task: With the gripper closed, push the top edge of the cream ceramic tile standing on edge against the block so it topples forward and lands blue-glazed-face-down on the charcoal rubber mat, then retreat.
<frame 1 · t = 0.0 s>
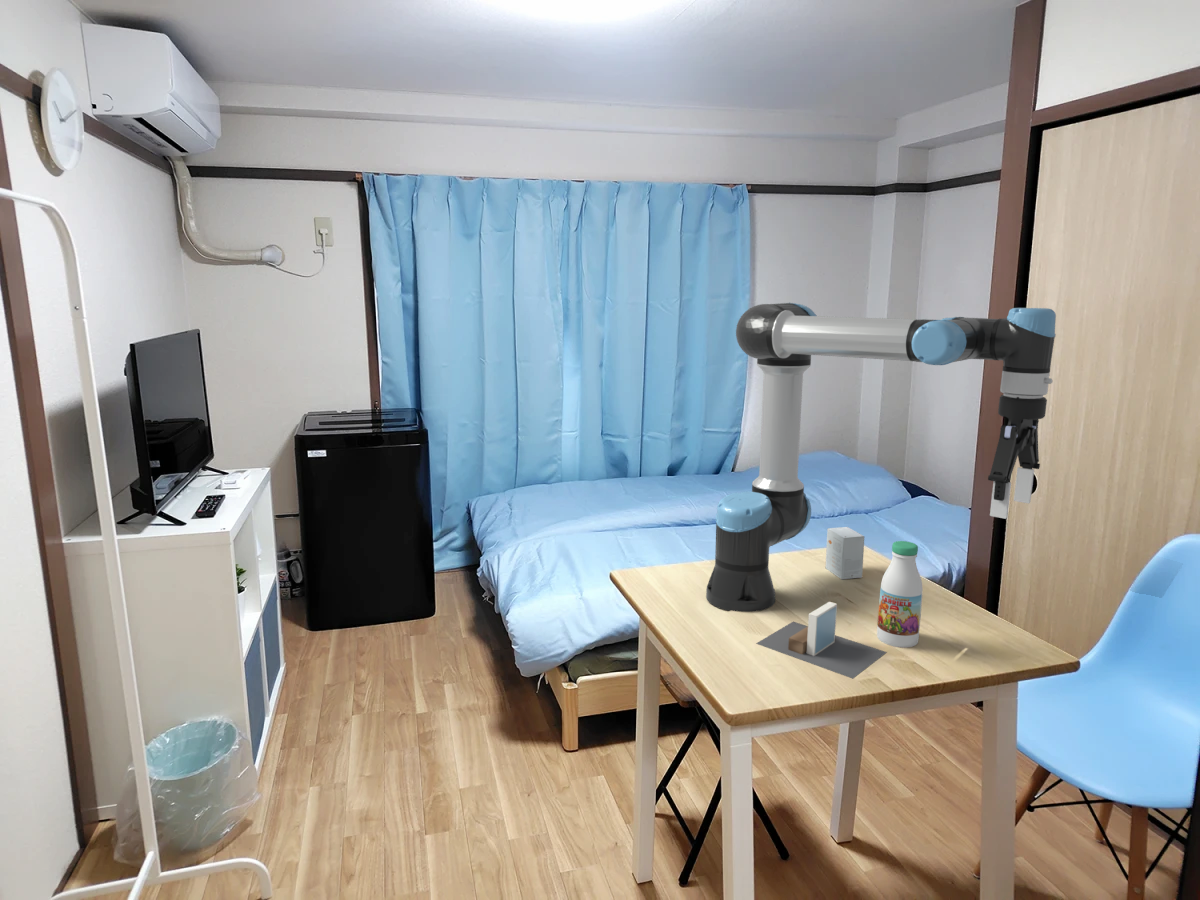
hand: (1010, 509, 144), 28 cm above the table, tool pointing down, fingers open, 13 cm apart
block: (808, 643, 151), resting on mat
milk bottle: (897, 641, 154), on the table
tile: (820, 647, 150), resting on mat
mat: (820, 649, 150), on the table
small box: (843, 574, 190), on the table
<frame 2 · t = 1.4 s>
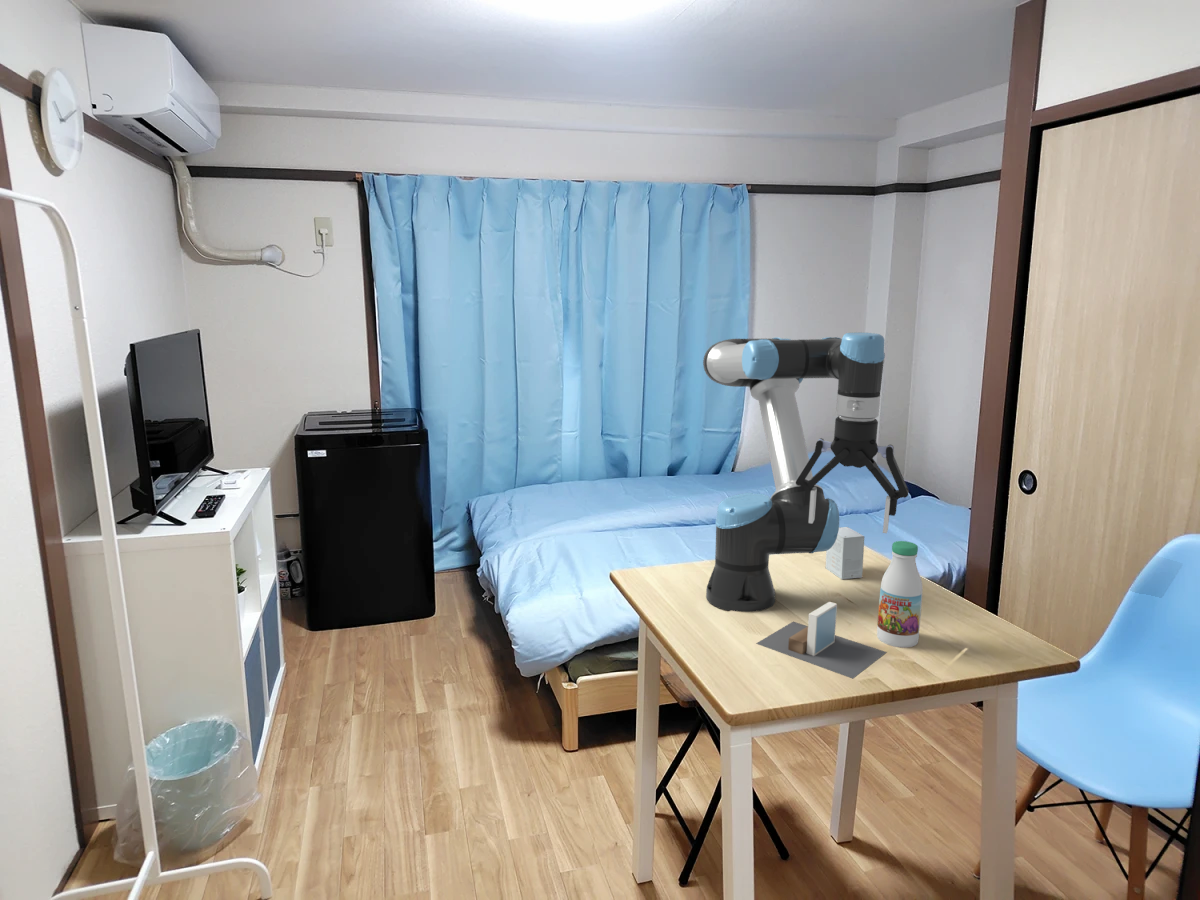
hand: (847, 526, 149), 23 cm above the table, tool pointing down, fingers open, 13 cm apart
nothing on the table moved.
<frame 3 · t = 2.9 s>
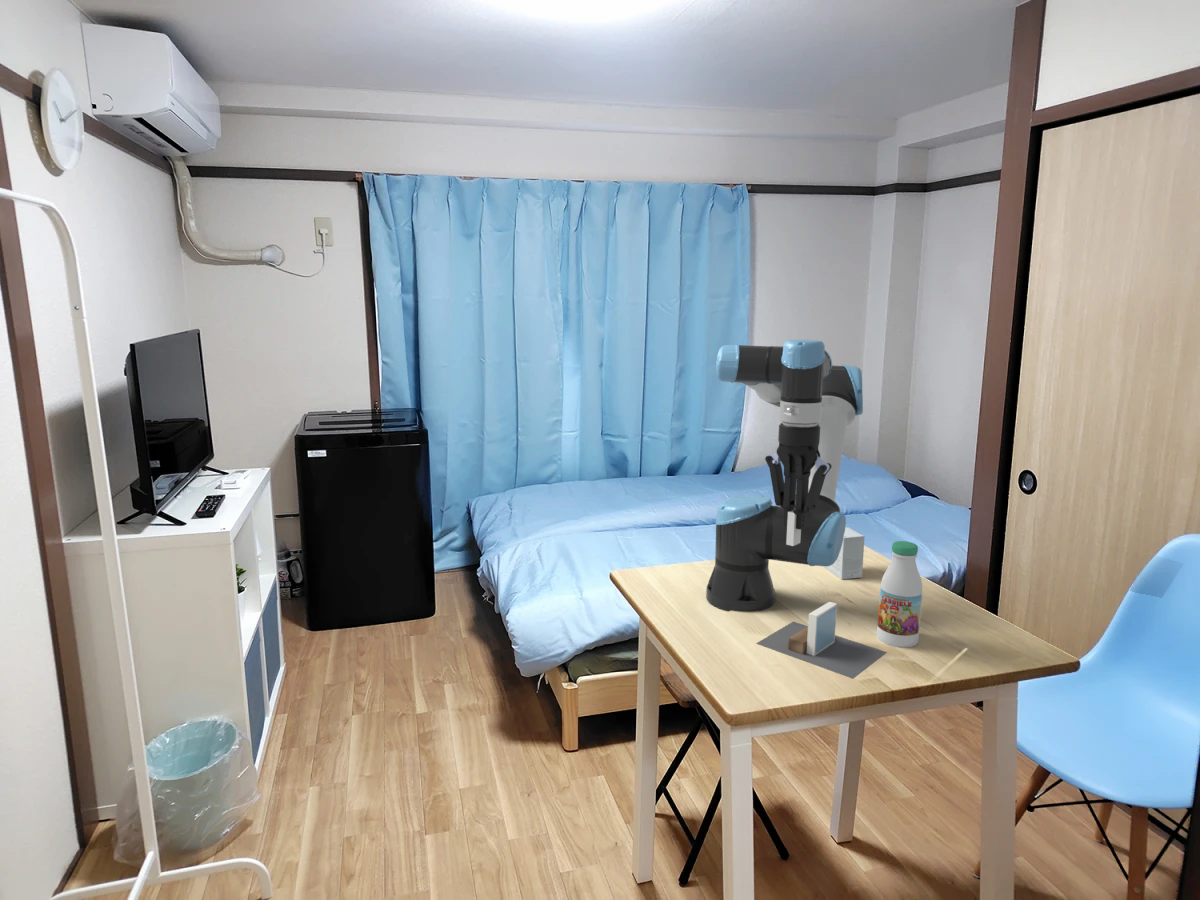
hand: (793, 543, 150), 20 cm above the table, tool pointing down, fingers closed
nothing on the table moved.
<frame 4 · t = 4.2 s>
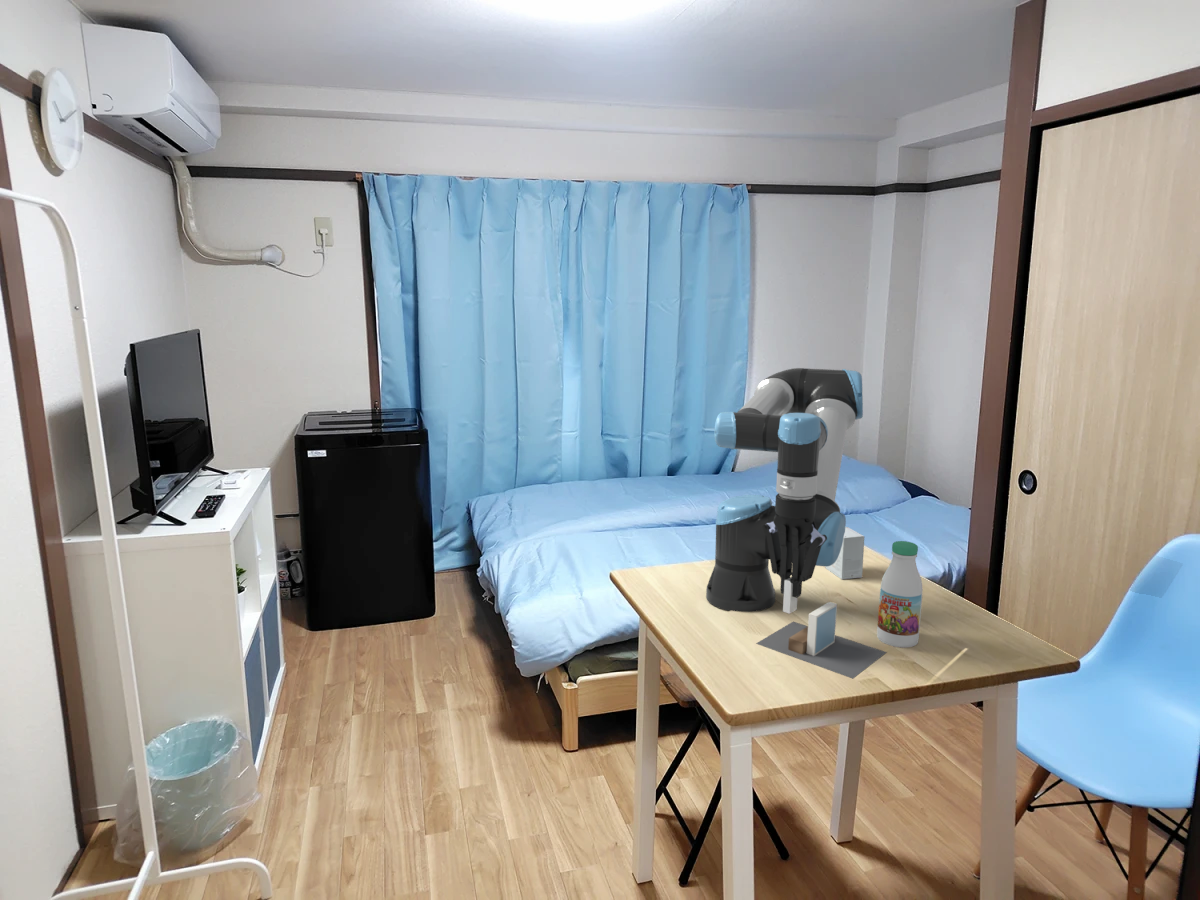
hand: (789, 610, 153), 6 cm above the table, tool pointing down, fingers closed
nothing on the table moved.
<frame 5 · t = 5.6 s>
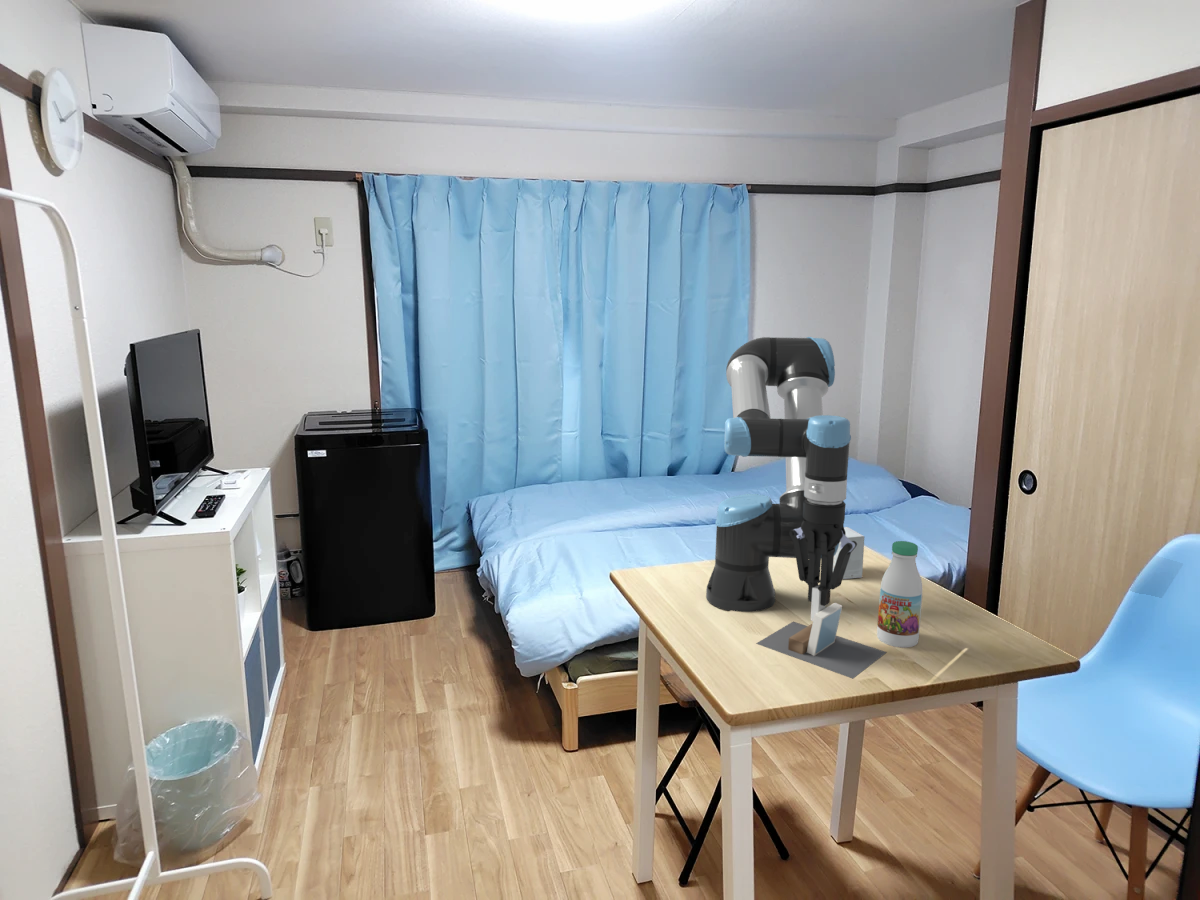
hand: (817, 619, 149), 6 cm above the table, tool pointing down, fingers closed
tile: (820, 647, 150), point 1 cm above the table, tilted 8°, touching gripper, mat
everything else where it was.
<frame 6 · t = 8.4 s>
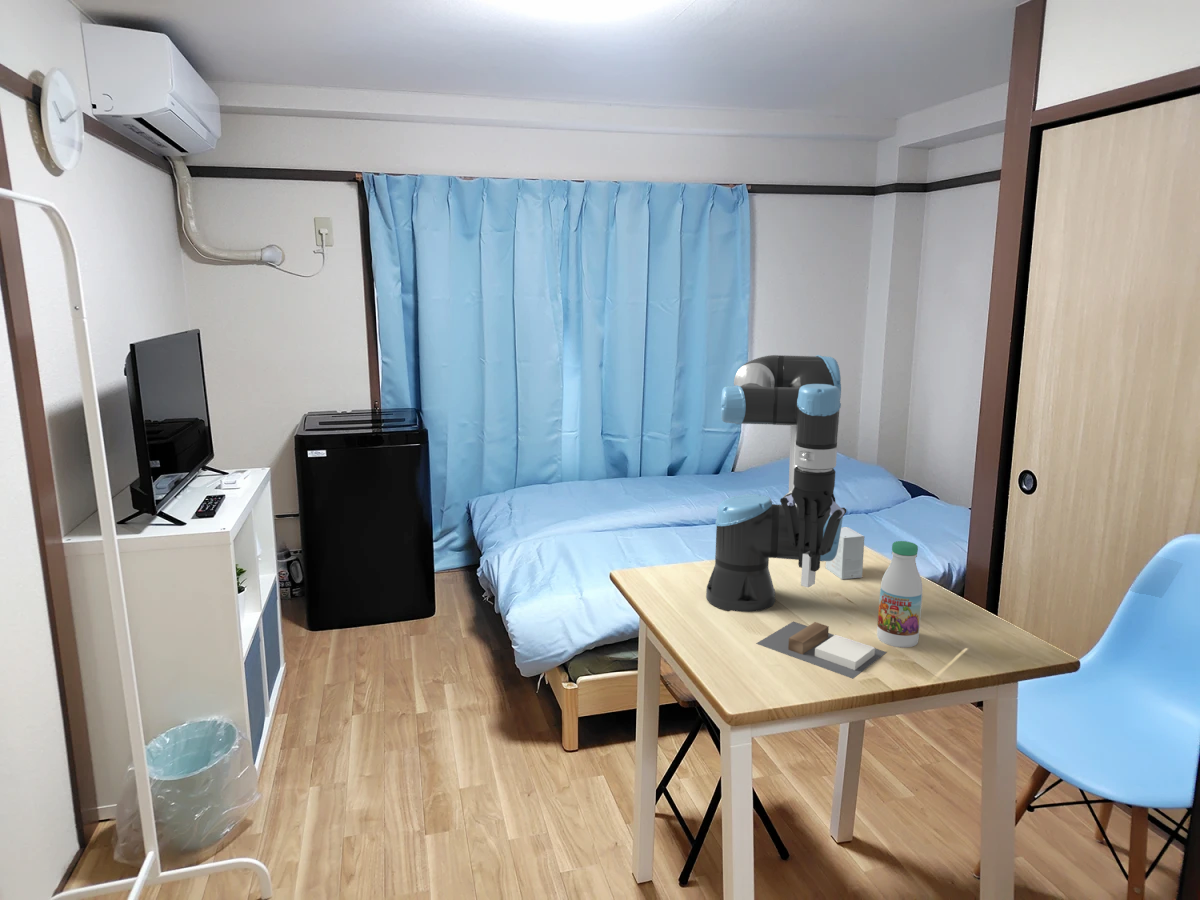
hand: (807, 584, 152), 12 cm above the table, tool pointing down, fingers closed
tile: (825, 645, 149), point 1 cm above the table, tilted 90°, touching mat
everything else where it was.
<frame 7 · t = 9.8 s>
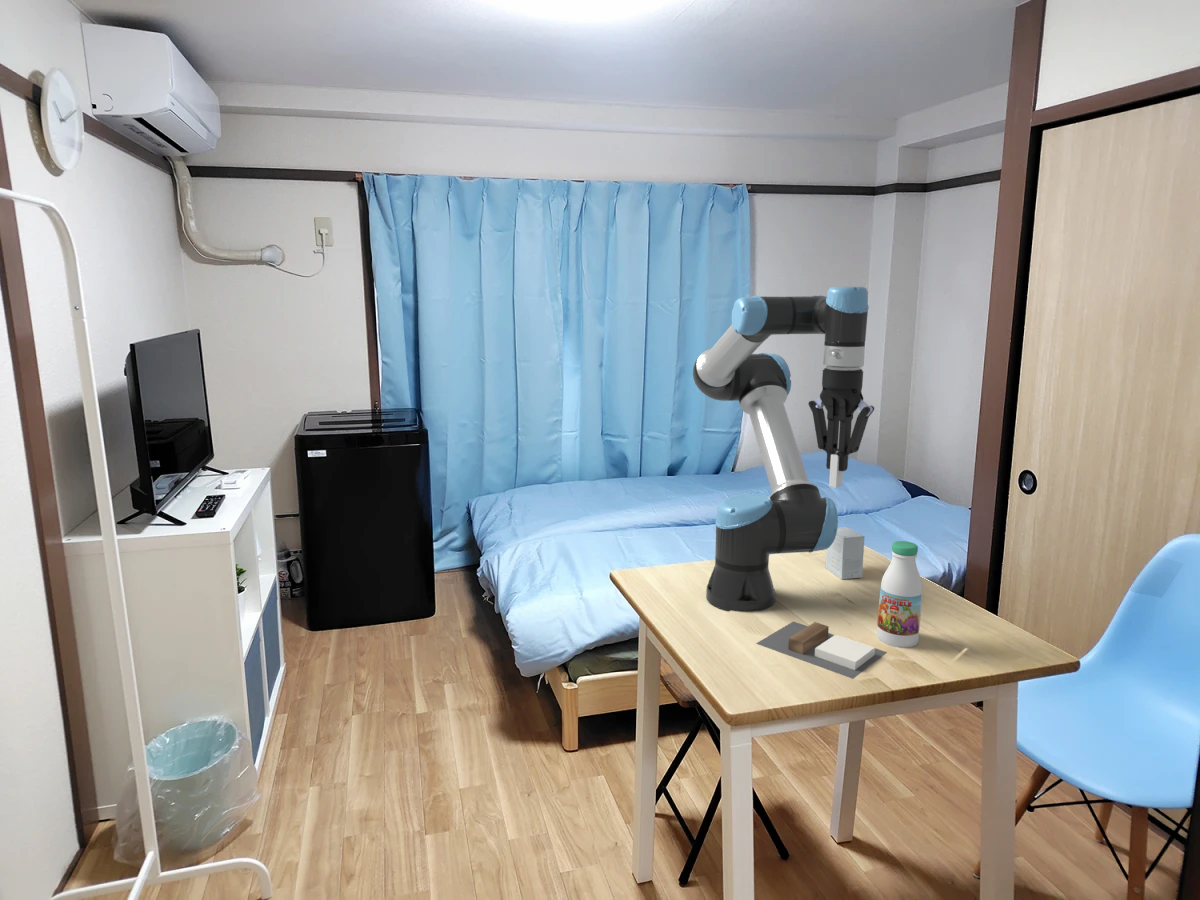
hand: (835, 485, 156), 29 cm above the table, tool pointing down, fingers closed
nothing on the table moved.
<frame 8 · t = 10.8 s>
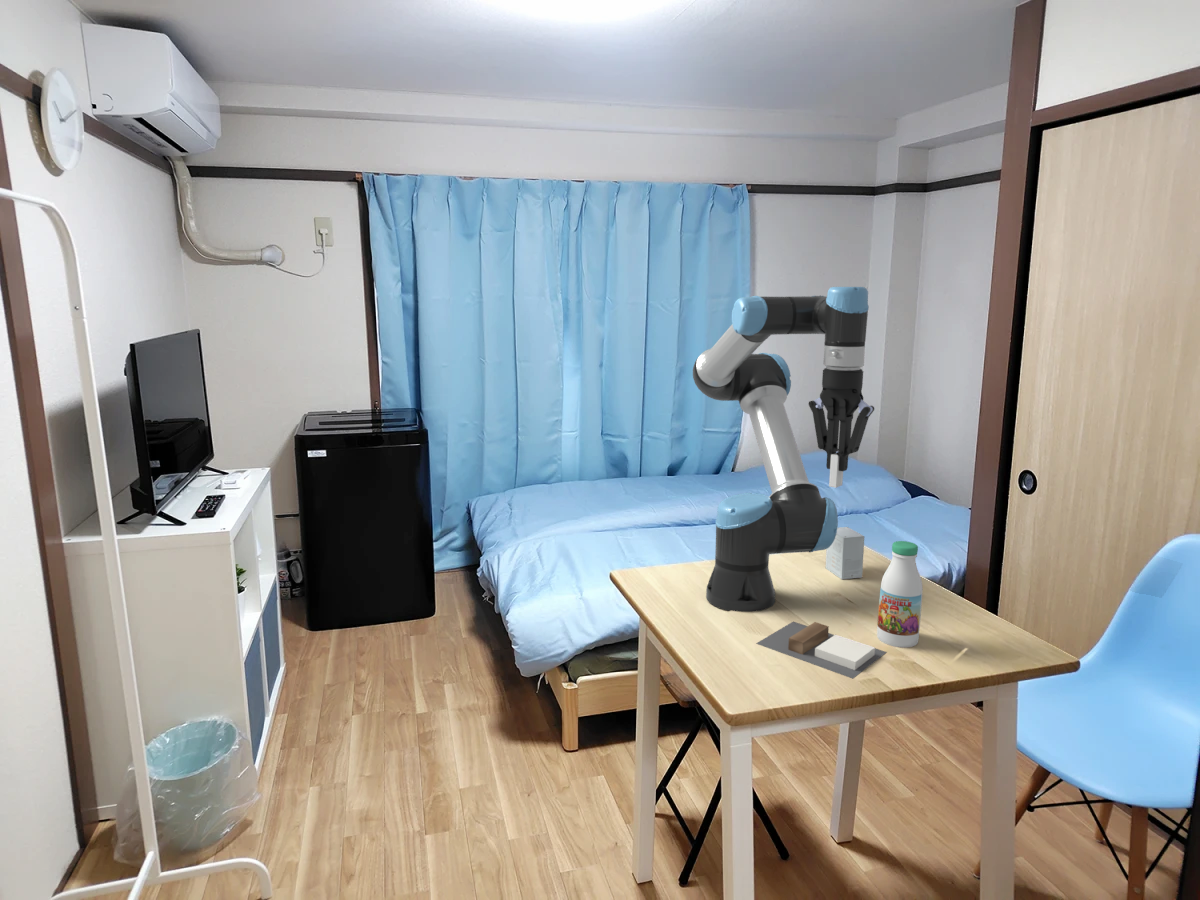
hand: (835, 485, 156), 29 cm above the table, tool pointing down, fingers closed
nothing on the table moved.
at the end: tile tilted 90°; tile inside the target area (4.1 cm from its centre), point 1.2 cm above the table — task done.
